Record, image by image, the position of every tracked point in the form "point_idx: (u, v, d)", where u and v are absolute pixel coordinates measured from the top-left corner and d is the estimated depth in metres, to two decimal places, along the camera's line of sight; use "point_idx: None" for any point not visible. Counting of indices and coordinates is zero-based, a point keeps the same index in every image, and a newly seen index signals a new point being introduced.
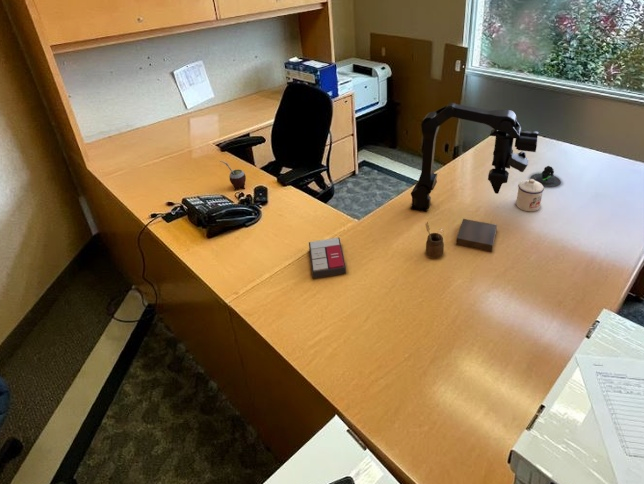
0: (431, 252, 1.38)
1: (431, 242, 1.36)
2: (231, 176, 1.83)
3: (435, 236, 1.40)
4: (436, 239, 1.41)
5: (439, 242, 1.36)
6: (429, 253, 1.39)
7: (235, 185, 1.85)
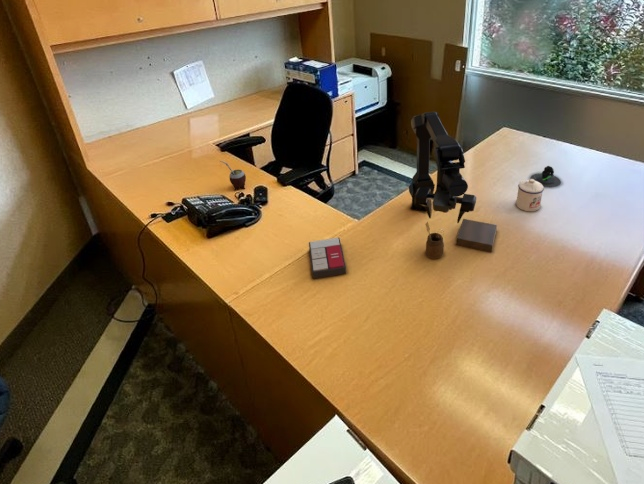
0: (431, 252, 1.38)
1: (431, 242, 1.36)
2: (231, 176, 1.83)
3: (435, 236, 1.40)
4: (436, 239, 1.41)
5: (439, 242, 1.36)
6: (429, 253, 1.39)
7: (235, 185, 1.85)
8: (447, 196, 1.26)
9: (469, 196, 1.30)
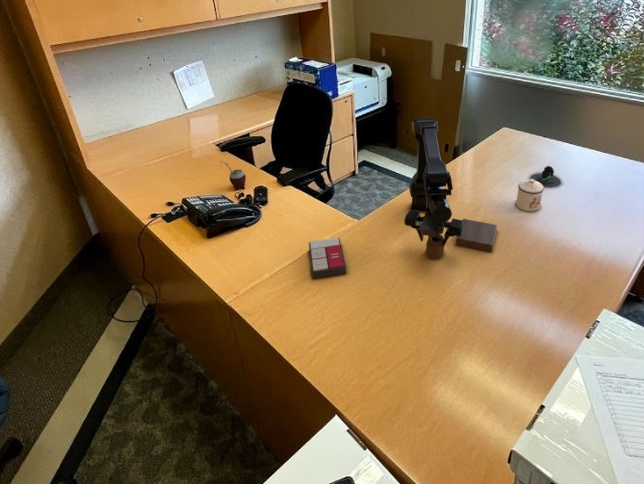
0: (431, 252, 1.38)
1: (432, 242, 1.36)
2: (231, 176, 1.83)
3: (436, 236, 1.40)
4: (436, 239, 1.41)
5: (440, 242, 1.36)
6: (429, 253, 1.39)
7: (235, 185, 1.85)
8: (435, 221, 1.29)
9: (457, 221, 1.32)
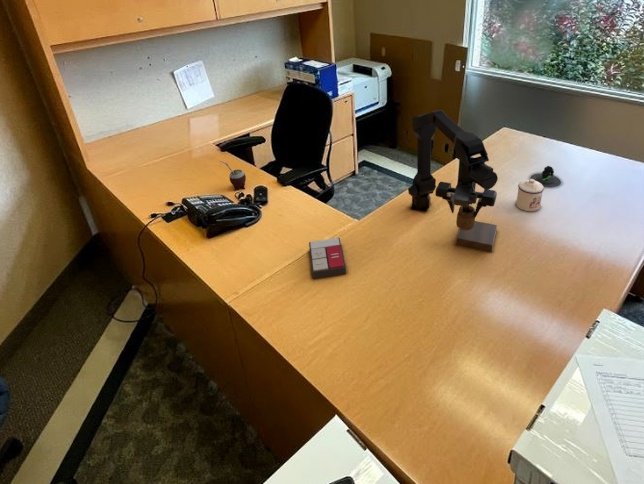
0: (462, 224, 1.38)
1: (463, 214, 1.36)
2: (231, 176, 1.83)
3: (466, 208, 1.40)
4: (467, 211, 1.41)
5: (471, 214, 1.36)
6: (460, 224, 1.39)
7: (235, 185, 1.85)
8: (468, 191, 1.28)
9: (490, 191, 1.32)
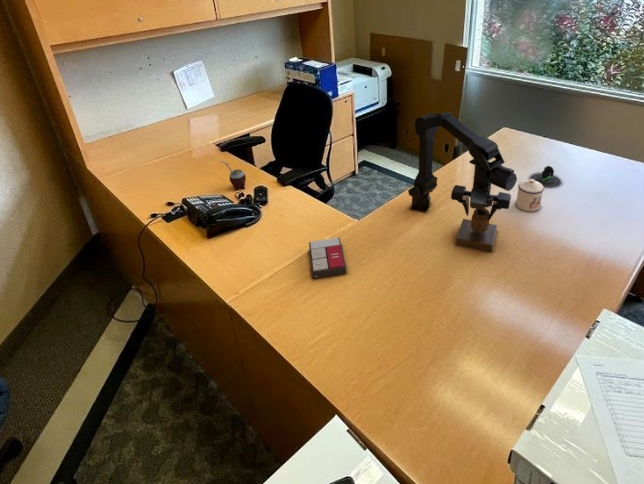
0: (477, 226, 1.41)
1: (478, 216, 1.40)
2: (231, 176, 1.83)
3: (481, 210, 1.44)
4: (481, 213, 1.45)
5: (486, 216, 1.39)
6: (474, 226, 1.42)
7: (235, 185, 1.85)
8: (484, 194, 1.32)
9: (504, 194, 1.36)
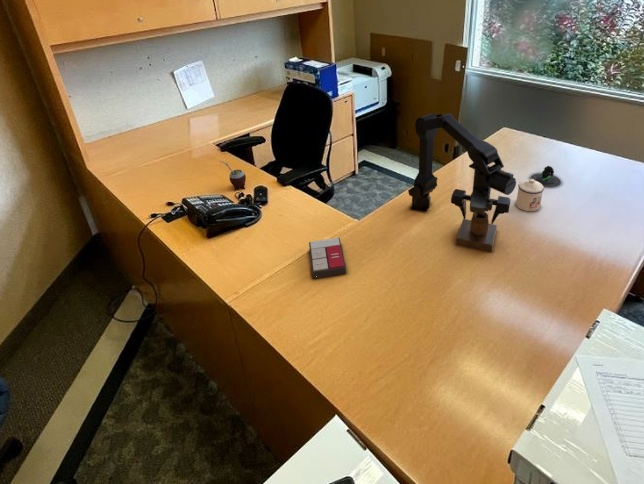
0: (477, 229, 1.42)
1: (477, 219, 1.41)
2: (231, 176, 1.83)
3: (480, 214, 1.45)
4: (480, 217, 1.46)
5: (485, 219, 1.40)
6: (474, 230, 1.43)
7: (235, 185, 1.85)
8: (484, 198, 1.33)
9: (504, 198, 1.36)
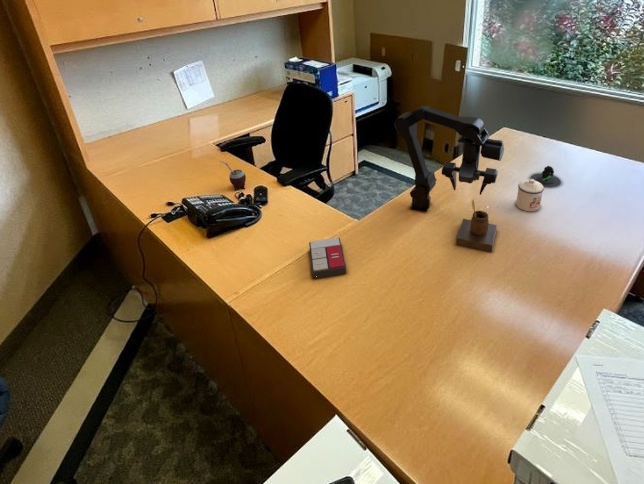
0: (477, 229, 1.42)
1: (477, 219, 1.41)
2: (231, 176, 1.83)
3: (480, 214, 1.45)
4: (480, 217, 1.46)
5: (485, 219, 1.40)
6: (474, 230, 1.43)
7: (235, 185, 1.85)
8: (472, 169, 1.41)
9: (491, 170, 1.45)
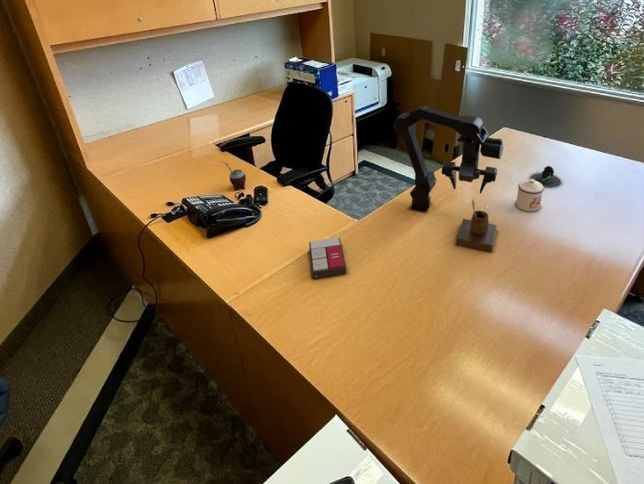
0: (477, 229, 1.42)
1: (477, 219, 1.41)
2: (231, 176, 1.83)
3: (480, 214, 1.45)
4: (480, 217, 1.46)
5: (485, 219, 1.40)
6: (474, 230, 1.43)
7: (235, 185, 1.85)
8: (472, 167, 1.42)
9: (491, 168, 1.45)
